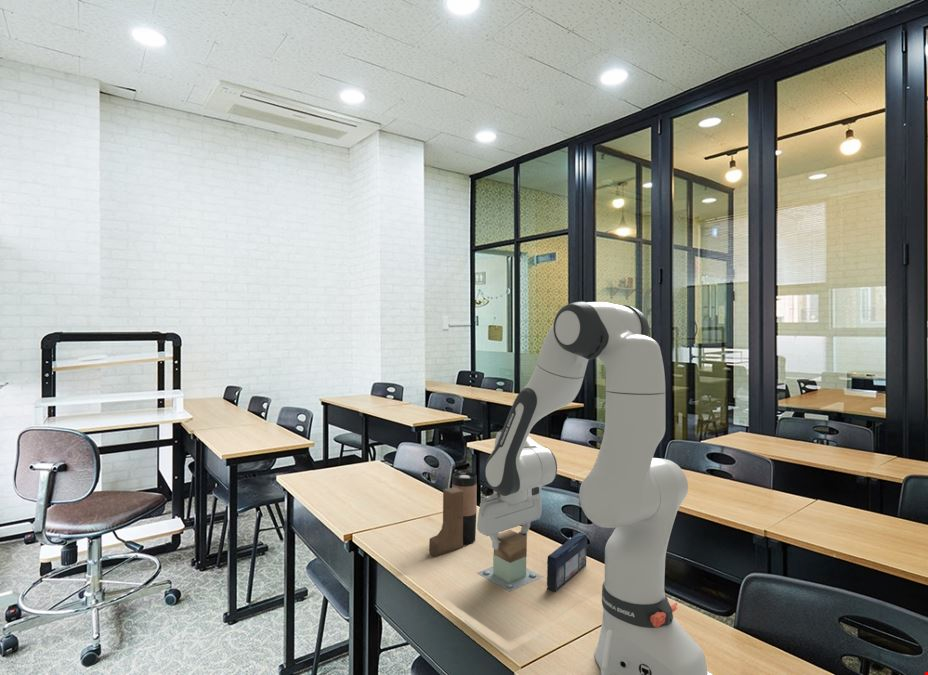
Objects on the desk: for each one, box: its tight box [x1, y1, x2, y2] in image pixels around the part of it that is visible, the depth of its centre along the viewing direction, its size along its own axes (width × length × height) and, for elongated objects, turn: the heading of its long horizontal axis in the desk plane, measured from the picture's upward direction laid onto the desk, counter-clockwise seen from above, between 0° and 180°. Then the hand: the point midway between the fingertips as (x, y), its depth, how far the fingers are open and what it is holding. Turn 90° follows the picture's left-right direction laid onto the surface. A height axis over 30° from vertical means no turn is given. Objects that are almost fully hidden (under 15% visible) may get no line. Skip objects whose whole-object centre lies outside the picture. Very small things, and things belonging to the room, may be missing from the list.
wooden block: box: [428, 487, 464, 558], centre depth 145 cm, size 9×4×18 cm, turn 124°
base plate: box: [477, 566, 544, 592], centre depth 130 cm, size 12×12×2 cm
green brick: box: [492, 554, 527, 583], centre depth 130 cm, size 6×6×5 cm
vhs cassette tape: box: [546, 532, 588, 593], centre depth 129 cm, size 18×3×10 cm, turn 141°
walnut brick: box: [493, 529, 528, 563], centre depth 130 cm, size 6×6×5 cm
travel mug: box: [451, 471, 478, 545], centre depth 155 cm, size 8×8×20 cm
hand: (510, 543), depth 130 cm, fingers open, 8 cm apart
